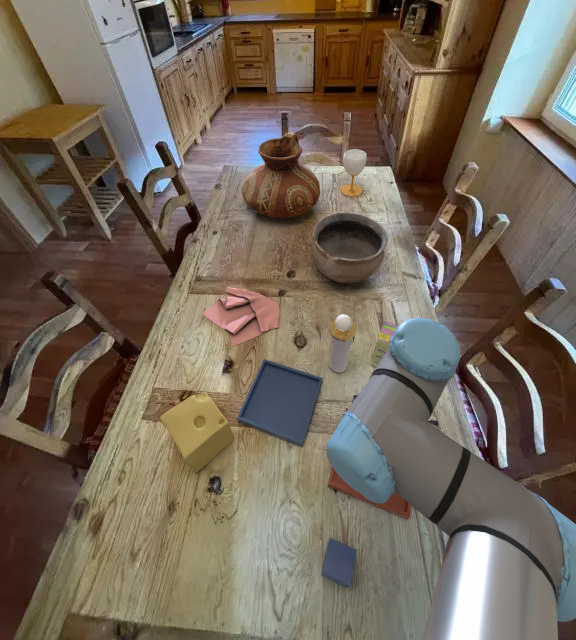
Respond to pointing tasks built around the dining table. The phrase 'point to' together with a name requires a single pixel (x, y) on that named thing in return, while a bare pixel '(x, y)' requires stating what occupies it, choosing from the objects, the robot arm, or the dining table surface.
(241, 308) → the cloth
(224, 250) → the dining table surface
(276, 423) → the blue tray
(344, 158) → the cup
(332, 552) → the blue block
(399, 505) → the red tray
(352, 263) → the ceramic bowl
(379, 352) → the box
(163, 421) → the cheese
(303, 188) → the jug
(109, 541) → the dining table surface
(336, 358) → the perfume bottle
